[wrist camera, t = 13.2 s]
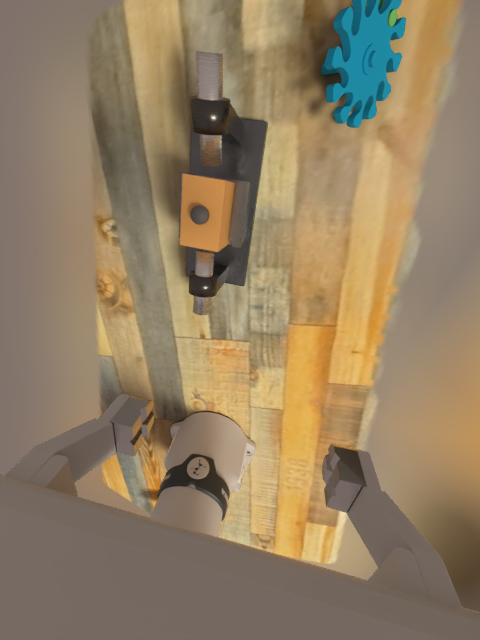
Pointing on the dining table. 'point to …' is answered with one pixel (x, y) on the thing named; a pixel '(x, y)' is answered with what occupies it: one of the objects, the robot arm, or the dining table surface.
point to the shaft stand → (224, 164)
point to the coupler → (206, 212)
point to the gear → (363, 57)
